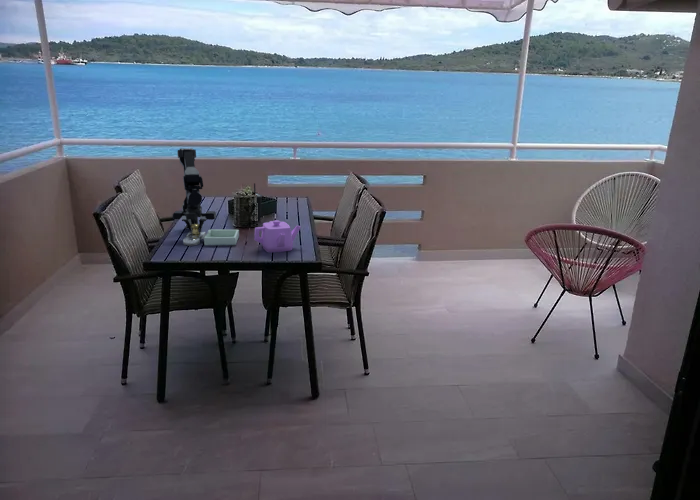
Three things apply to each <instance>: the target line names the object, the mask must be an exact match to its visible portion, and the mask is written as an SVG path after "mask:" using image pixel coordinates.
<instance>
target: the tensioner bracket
mask: <svg viewBox="0 0 700 500" xmlns="http://www.w3.org/2000/svg"><path fill="white" fill-rule="evenodd" d="M206 234H207V233H206V231H201V233H199V235H193V234H192V233H191V232H190V231H188V233H187V234H186V236H185V238H183V239H182V241H183V242H182V243H183V244H182V245H184V246H187V247H188V246H189V247H194V246H198V245H200V240H203V241H204V237H205V236H206Z"/></svg>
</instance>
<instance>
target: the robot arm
mask: <svg viewBox="0 0 700 500" xmlns="http://www.w3.org/2000/svg"><path fill="white" fill-rule="evenodd" d="M196 151H197V150H196V149H194V148H193V147H191V148H189V147H188V148H186V147H184V148H179V149H177V151H176V152H177V158H178V159H179V163H180V165H181V166H182V167H183V176H182V179H183V187H184V190H185V198H184V200H183V204H181V205H182V206H181V208H182V209H181V210H176V211H174V212H173V213H172V220H181V221H182V222H184V223H185V224H186V225H185V226H184V230H189V232H191V233H192V228H191V224H199V233H201V232H202V231H203V230H202V229H203V225H204V224H205V222H206V221H207V220H210V221H212V220H215V219H216V218H217V213H216V211H215V210H207V211H206V212H203V211H202V210H203V208H202V205H201V203H202V201H203V197H202V195H201V192H200V190H203V188H204V182H203V177H202V175H201V174H200V172H199V170H198V169H197V168H196V165H195V160H196V158H197V152H196Z"/></svg>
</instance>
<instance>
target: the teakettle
mask: <svg viewBox="0 0 700 500" xmlns="http://www.w3.org/2000/svg"><path fill="white" fill-rule="evenodd" d="M300 230H301V226H300V225H295V227H294V228H293V229H291V226H290V225H289V224H288V223H287V222H286V221H280V220H278V219H275V220H270V221H269V222H268V221H267V222H263V223H262V226H257V227H254V236H253V239H254V241H255V242H257V243H260V244H261V245H262V248H263V250H264V251H265V252H267V253H281V252H283V253H284V252H291V251H292V250H293V247H294V241H295V239H296V237H297V235H298V233H299V231H300ZM260 232H261V236H260Z"/></svg>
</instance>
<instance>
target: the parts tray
mask: <svg viewBox="0 0 700 500" xmlns="http://www.w3.org/2000/svg"><path fill="white" fill-rule="evenodd" d="M239 238H240V230H239V229H208V231H207V233H206V235H205V237H204V238H203V242H204V246H236V245H237V243H238V240H239Z"/></svg>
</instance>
